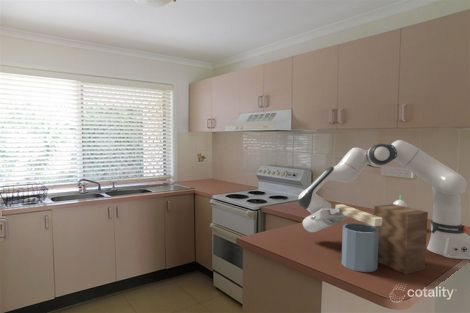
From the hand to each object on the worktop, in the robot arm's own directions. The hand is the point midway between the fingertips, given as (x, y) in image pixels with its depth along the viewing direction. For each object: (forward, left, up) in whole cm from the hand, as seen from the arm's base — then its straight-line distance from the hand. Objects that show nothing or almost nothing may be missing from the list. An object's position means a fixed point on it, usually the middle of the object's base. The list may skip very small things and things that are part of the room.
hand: (344, 208), depth 138 cm
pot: (-7, +7, -22) cm, 24 cm away
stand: (-22, -1, -22) cm, 31 cm away
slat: (-5, +5, -2) cm, 8 cm away
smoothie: (-31, -61, -22) cm, 72 cm away
